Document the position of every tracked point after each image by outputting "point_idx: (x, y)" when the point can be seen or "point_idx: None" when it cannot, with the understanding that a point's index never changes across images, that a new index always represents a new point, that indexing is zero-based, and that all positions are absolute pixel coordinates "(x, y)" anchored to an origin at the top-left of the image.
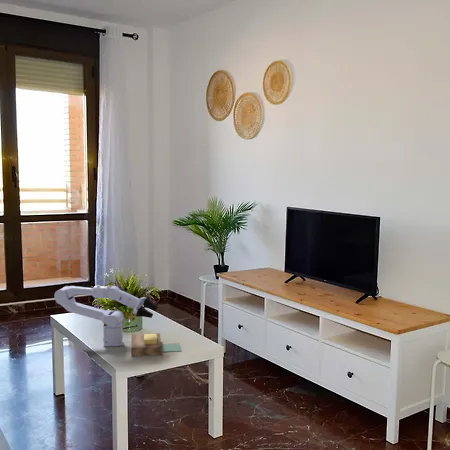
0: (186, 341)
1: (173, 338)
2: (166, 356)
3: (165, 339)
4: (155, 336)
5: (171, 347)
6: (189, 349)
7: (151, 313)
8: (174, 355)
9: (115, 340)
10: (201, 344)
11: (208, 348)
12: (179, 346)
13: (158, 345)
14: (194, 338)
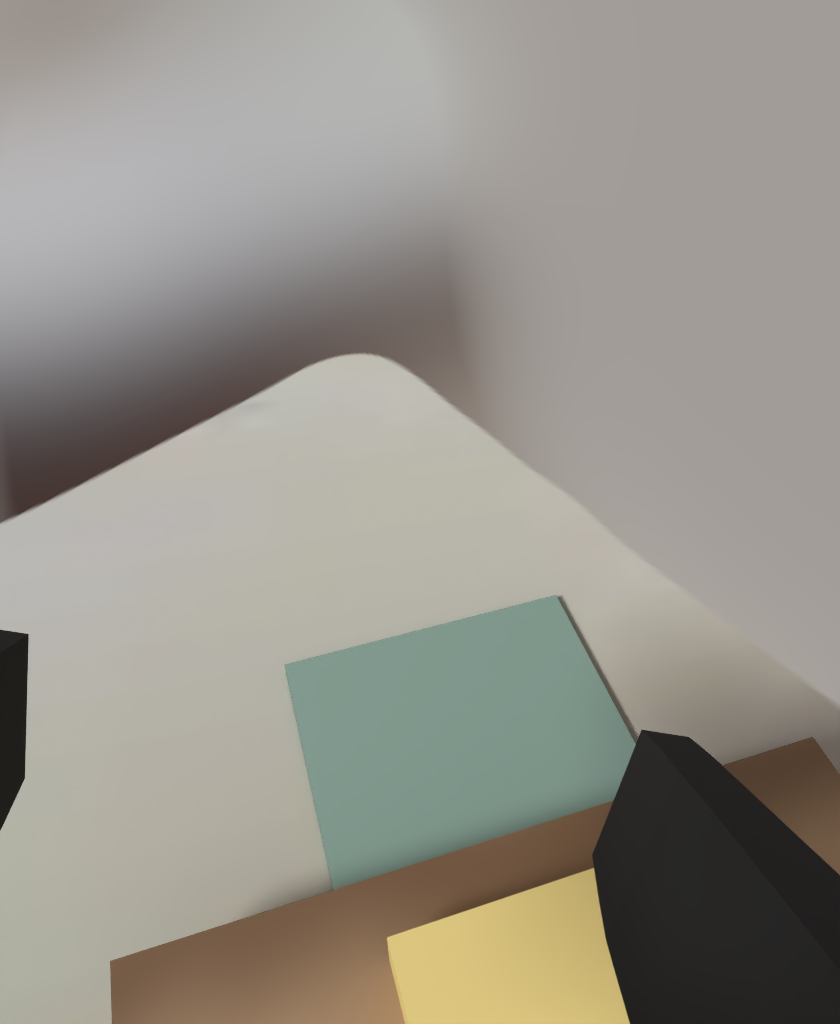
0: (192, 610)
1: (42, 794)
2: (786, 719)
3: (75, 914)
4: (575, 899)
5: (471, 723)
6: (469, 538)
7: (712, 768)
8: (710, 640)
9: None
10: (295, 467)
11: (405, 408)
12: (412, 639)
13: (788, 797)
14: (84, 551)
